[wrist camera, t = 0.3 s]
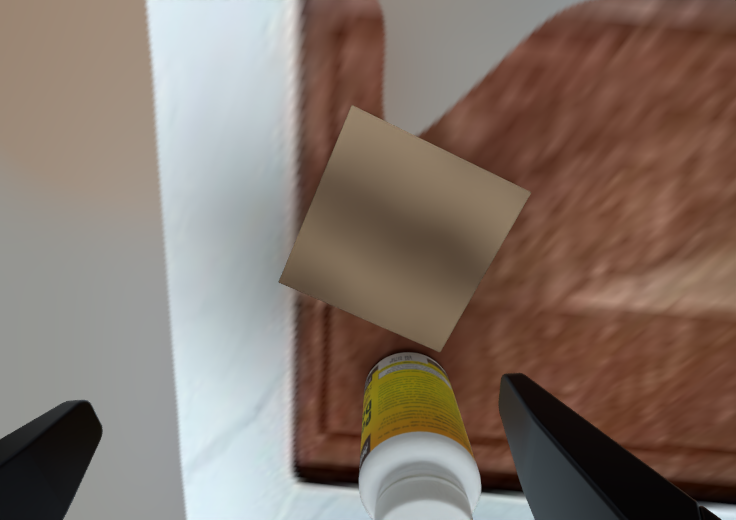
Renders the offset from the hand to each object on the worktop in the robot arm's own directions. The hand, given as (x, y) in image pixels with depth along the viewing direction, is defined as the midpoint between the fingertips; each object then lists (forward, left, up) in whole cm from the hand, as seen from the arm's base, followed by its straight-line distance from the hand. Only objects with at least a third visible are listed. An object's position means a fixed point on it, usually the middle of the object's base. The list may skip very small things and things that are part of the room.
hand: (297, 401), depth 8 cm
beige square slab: (+2, -2, -14) cm, 15 cm away
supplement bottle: (-7, -7, -15) cm, 18 cm away
